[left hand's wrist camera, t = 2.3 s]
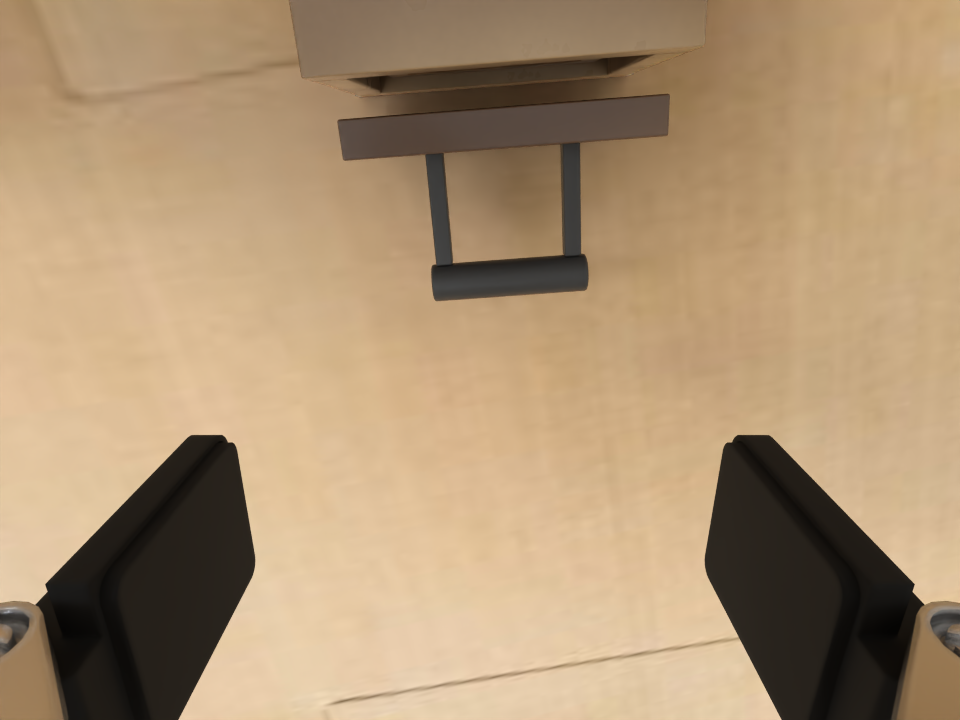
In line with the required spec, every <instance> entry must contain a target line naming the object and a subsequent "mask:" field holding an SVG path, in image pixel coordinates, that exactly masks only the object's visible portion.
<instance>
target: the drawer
mask: <svg viewBox="0 0 960 720" xmlns="http://www.w3.org/2000/svg"><path fill="white" fill-rule="evenodd" d="M600 59H601V58H600ZM597 60H599V59H587V60H575V61H562V62H550V63H537V64H525V65H512V66H500V67H487V68H475V69H462V70H450V71H437V72H425V73H412V74H400V75H387V76H390V77H391V78H399V77H412V76H424V75H437V74H449V73H462V72H475V71H487V70H500V69H512V68H525V67H537V66H550V65H562V64H575V63H587V62H595V61H597ZM669 102H670V95H669V94H659V95H646V96H633V97H620V98H608V99H595V100H582V101H569V102H557V103H544V104H531V105H519V106H506V107H493V108H480V109H468V110H455V111H442V112H429V113H417V114H404V115H391V116H378V117H366V118H353V119H340V120H338V128H339V135H340V142H341V149H342V155H343V160H345V161H348V160H361V159H374V158H387V157H400V156H413V155H425V156H426V166H427V176H428V186H429V196H430V206H431V216H432V226H433V236H434V246H435V256H436V265H432V269H431V277H432V289H433V296H434V299H435V301H446V300H460V299H474V298H488V297H502V296H515V295H529V294H543V293H557V292H571V291H584V290H586V289H587V286H588V263H587V258H586V256H585V254H581V199H580V143H582V142H595V141H608V140H621V139H634V138H646V137H659V136H667V135H668V126H669ZM556 144H561V190H562V237H563V254H564V255H559V256H546V257H532V258H518V259H505V260H491V261H477V262H464V263H453V254H452V243H451V232H450V221H449V209H448V198H447V187H446V176H445V165H444V154H443V153H452V152H465V151H478V150H491V149H504V148H517V147H530V146H543V145H556Z"/></svg>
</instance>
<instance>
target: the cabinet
mask: <svg viewBox="0 0 960 720" xmlns="http://www.w3.org/2000/svg"><path fill="white" fill-rule="evenodd" d="M289 4H290V10H291V16H292V22H293V28H294V35H295V41H296V47H297V53H298V59H299V65H300V71H301V77H302V78H304V79H307V80H310V81H315V82H318V83H321V84H324V85H327V86H330V87H333V88H336V89H339V90H342V91H345V92H348V93H352V94H355V96H357V97H367V96H379V95H392V94H405V93H417V92H430V91H442V90H455V89H468V88H480V87H493V86H506V85H518V84H531V83H543V82H556V81H569V80H581V79H594V78H607V77H619V76H629V75H632V74H634V73H635V72H637V71H640V70H642V69H645V68H648V67H650V66H653V65H655V64H658V63H661V62H663V61H666V60H668V59H671V58H674V57H676V56H679V55H681V54H684V53H687V52H689V51H693V50H695V49H698V48H700V47H703V46H704V45H705V33H706V17H707V0H289ZM600 58H601V59H600ZM587 59H599V60H597V61H595V62H587V63H575V64H562V65H550V66H537V67H525V68H512V69H500V70H487V71H475V72H462V73H449V74H437V75H424V76H412V77H399V78H391V77H390V76H387V75H400V74H412V73H425V72H437V71H450V70H462V69H475V68H487V67H500V66H512V65H525V64H537V63H550V62H562V61H575V60H587Z"/></svg>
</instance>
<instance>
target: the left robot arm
mask: <svg viewBox="0 0 960 720" xmlns="http://www.w3.org/2000/svg"><path fill="white" fill-rule="evenodd" d="M254 568H255V553H254V548H253V542H252V536H251V530H250V524H249V518H248V512H247V506H246V500H245V495H244V489H243V483H242V477H241V471H240V465H239V459H238V453H237V449H236V446H235V444H234V443H228V442H227V440H226V438H225V437H224V436H223V435H191V436H189V437H188V438H187V439H186V440H185V441H184V442H183V443H182V444H181V445H180V446H179V447H178V448H177V449H176V450H175V451H174V452H173V453H172V454H171V455H170V456H169V457H168V458H167V459H166V461H165V462H164V463H163V464H162V465H161V466H160V467H159V468H158V469H157V470H156V471H155V472H154V473H153V474H152V475H151V476H150V477H149V478H148V479H147V480H146V481H145V482H144V483H143V484H142V485H141V486H140V487H139V488H138V489H137V490H136V491H135V492H134V493H133V495H132V496H131V497H130V498H129V499H128V500H127V501H126V502H125V503H124V504H123V505H122V506H121V507H120V508H119V509H118V510H117V511H116V512H115V513H114V514H113V515H112V516H111V517H110V518H109V519H108V520H107V521H106V522H105V523H104V524H103V525H102V526H101V527H100V529H99V530H98V531H97V532H96V533H95V534H94V535H93V536H92V537H91V538H90V539H89V540H88V541H87V542H86V543H85V544H84V545H83V546H82V547H81V548H80V549H79V550H78V551H77V552H76V553H75V554H74V555H73V556H72V557H71V558H70V559H69V560H68V561H67V563H66V564H65V565H64V566H63V567H62V568H61V569H60V570H59V571H58V572H57V573H56V574H55V575H54V576H53V577H52V578H51V579H50V580H49V581H48V582H47V583H46V584H45V585H46V588H47V591H48V592H47V593H46V594H45V595H44V596H43V597H42V598H41V599H40V601H39V602H38V603H37V604H36V605H34V604H32V603H29V602H20V601H11V602H4V603H0V720H178V719H179V717H180V715H181V714H182V712H183V710H184V708H185V706H186V704H187V702H188V700H189V698H190V696H191V694H192V692H193V690H194V688H195V686H196V685H197V683H198V681H199V679H200V677H201V675H202V673H203V671H204V669H205V667H206V665H207V663H208V661H209V659H210V657H211V656H212V654H213V652H214V650H215V648H216V646H217V644H218V642H219V640H220V638H221V636H222V634H223V632H224V630H225V628H226V627H227V625H228V623H229V621H230V619H231V617H232V615H233V613H234V611H235V609H236V607H237V605H238V603H239V601H240V599H241V598H242V596H243V594H244V592H245V590H246V588H247V586H248V584H249V582H250V580H251V578H252V576H253V573H254ZM705 568H706V573H707V576H708V578H709V580H710V582H711V584H712V586H713V588H714V590H715V592H716V594H717V596H718V598H719V599H720V601H721V603H722V605H723V607H724V609H725V611H726V613H727V615H728V617H729V619H730V621H731V623H732V625H733V627H734V628H735V630H736V632H737V634H738V636H739V638H740V640H741V642H742V644H743V646H744V648H745V650H746V652H747V654H748V656H749V657H750V659H751V661H752V663H753V665H754V667H755V669H756V671H757V673H758V675H759V677H760V679H761V681H762V683H763V685H764V686H765V688H766V690H767V692H768V694H769V696H770V698H771V700H772V702H773V704H774V706H775V708H776V710H777V712H778V714H779V715H780V717H781V719H782V720H960V603H956V602H949V601H940V602H931V603H928V604H926V605H924V604H923V603H922V602H921V601H920V599H919V598H918V597H917V596H916V595H915V594H914V593H913V592H912V591H913V588H914V585H915V584H914V583H913V582H912V581H911V580H910V579H909V578H908V577H907V576H906V575H905V574H904V573H903V572H902V571H901V570H900V569H899V568H898V567H897V566H896V565H895V564H894V563H893V561H892V560H891V559H890V558H889V557H888V556H887V555H886V554H885V553H884V552H883V551H882V550H881V549H880V548H879V547H878V546H877V545H876V544H875V543H874V542H873V541H872V540H871V539H870V538H869V537H868V536H867V535H866V534H865V533H864V532H863V531H862V530H861V529H860V527H859V526H858V525H857V524H856V523H855V522H854V521H853V520H852V519H851V518H850V517H849V516H848V515H847V514H846V513H845V512H844V511H843V510H842V509H841V508H840V507H839V506H838V505H837V504H836V503H835V502H834V501H833V500H832V499H831V498H830V497H829V496H828V495H827V493H826V492H825V491H824V490H823V489H822V488H821V487H820V486H819V485H818V484H817V483H816V482H815V481H814V480H813V479H812V478H811V477H810V476H809V475H808V474H807V473H806V472H805V471H804V470H803V469H802V468H801V467H800V466H799V465H798V464H797V463H796V462H795V461H794V459H793V458H792V457H791V456H790V455H789V454H788V453H787V452H786V451H785V450H784V449H783V448H782V447H781V446H780V445H779V444H778V443H777V442H776V441H775V440H774V439H773V438H772V437H771V436H769V435H737V436H736V437H735V438H734V440H733V442H732V443H726V444H725V446H724V449H723V453H722V459H721V465H720V471H719V477H718V483H717V489H716V495H715V500H714V506H713V512H712V518H711V524H710V530H709V536H708V542H707V548H706V553H705Z"/></svg>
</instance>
